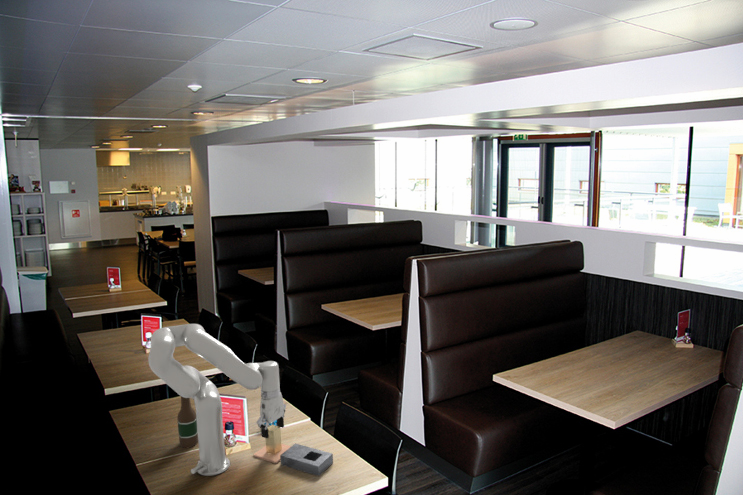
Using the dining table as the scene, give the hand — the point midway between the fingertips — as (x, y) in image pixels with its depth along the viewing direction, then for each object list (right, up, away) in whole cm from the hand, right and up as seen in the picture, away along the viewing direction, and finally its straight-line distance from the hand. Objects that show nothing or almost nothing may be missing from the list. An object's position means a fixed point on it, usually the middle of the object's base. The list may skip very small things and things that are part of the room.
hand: (273, 431), depth 219 cm
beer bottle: (-38, -9, +11) cm, 40 cm away
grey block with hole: (+15, -10, -8) cm, 19 cm away
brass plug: (0, -8, +1) cm, 8 cm away
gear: (-5, -6, +26) cm, 27 cm away
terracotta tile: (0, -9, +1) cm, 9 cm away
